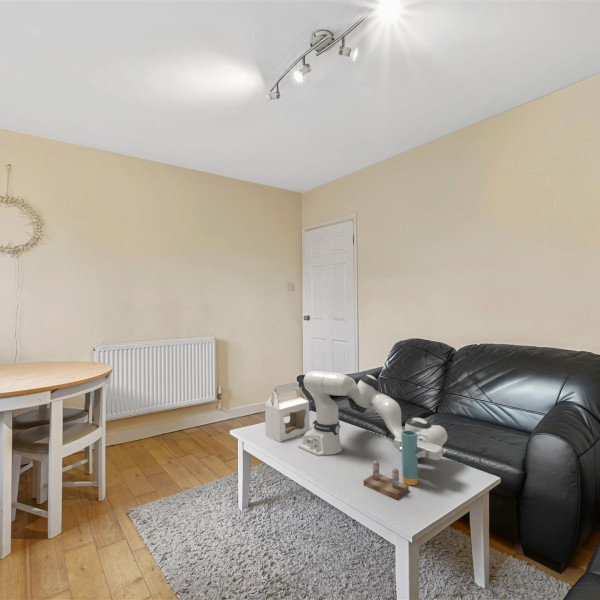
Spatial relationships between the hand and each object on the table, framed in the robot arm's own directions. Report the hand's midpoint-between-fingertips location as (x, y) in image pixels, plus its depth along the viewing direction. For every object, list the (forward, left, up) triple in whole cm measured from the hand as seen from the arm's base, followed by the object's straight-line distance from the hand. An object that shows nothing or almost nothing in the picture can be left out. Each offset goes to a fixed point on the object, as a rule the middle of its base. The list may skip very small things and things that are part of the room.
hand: (408, 452), depth 145 cm
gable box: (-75, +14, -13) cm, 77 cm away
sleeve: (0, +1, -12) cm, 12 cm away
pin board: (-6, -9, -12) cm, 16 cm away
